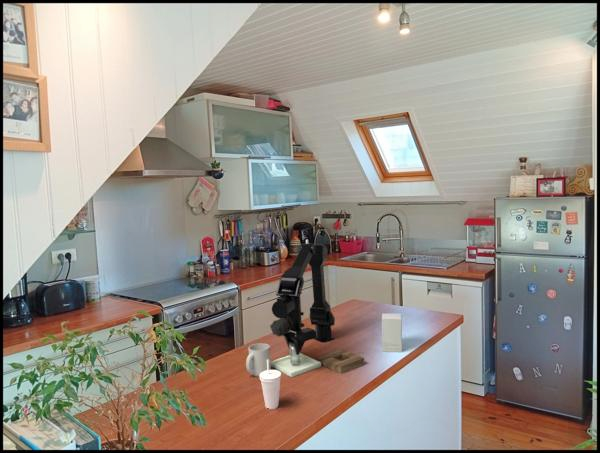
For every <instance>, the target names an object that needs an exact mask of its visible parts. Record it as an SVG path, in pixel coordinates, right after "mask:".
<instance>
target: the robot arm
mask: <svg viewBox="0 0 600 453" xmlns="http://www.w3.org/2000/svg"><path fill="white" fill-rule="evenodd" d="M328 251H329V250H328V247H327V246H326V245H325V244H323V243H305V242H304V243H303V244H301V245H300V249H299V251H298V253H297V255H296V257H295V260H294V261H293V263H292V264H291V266H290V267H289V268H288V269H286V270H284V272H283V273H282V274H281V276H280V278H279V281H278V286H277V290H276V293H275V295H276V301H274V303H273V304H272V307H271V313H272V314H273V315H274V317H276V318H277V319H276V320H273V322H272V323H271V324H270V326H269V327H270V330H271V332H272V334H273V335H274V336H277V337H279V338H280V337H284V339H285V342H286V345H287V347H288V351H290V348H289V341H291V340H294V342H295V350H296V355H299V354H300V353H301V352H302V349H303V347H304V344H305V343H306V342H307V341H310V340H316V341H317V342H320V343H325V342H328V341H331V340H334V339H335V337H334V336H333V335H332V332H333V331H332V326H335V322H336V320H335V315H334V314H333V312H332V309H331V305H330V303H329V302H328V301H327V299H326V285H325V272H324V271H325V270H324V265H325V263H326V261H327V259H328ZM308 265H309V266H310V268H311V270H310V271H311V281H312V283H311V284H312V293H313V297H312V298H313V303H312V305H311V306H310V308H309V319H310V324H311V326H314V327H315V329H313V328H311V327H306V328H304V327H305V323H303V322H302V316H304V314H305V312H304V311H302V306H301V305H302V304H301V303H302V302H301V294H303V292H302V291H303V288H304V285H305V280H304V275H305V274H304V273H305V272H306V269H307V267H308Z"/></svg>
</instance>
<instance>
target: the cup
mask: <svg viewBox="0 0 600 453" xmlns="http://www.w3.org/2000/svg"><path fill="white" fill-rule="evenodd" d="M247 350H248V355H247V357H246V360H245V361H246V362H245V368H246V371H247V372H248V373H249V374H250V375H251V376H255V377H260V376H259V375H260V373H261V372H263V371H266V370H267V359H268V360H269V370H272V367H271V363H270V361H271V347H270V344H267V343H260V342H258V343H253V344H251V345H249V346H248V349H247Z"/></svg>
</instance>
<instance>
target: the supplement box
mask: <svg viewBox="0 0 600 453" xmlns="http://www.w3.org/2000/svg"><path fill="white" fill-rule="evenodd" d="M402 321H403V320H402V314H401V313H381V347H382V348H381V350H382V352H388V353H389V352H390V353H402V352H403V334H402V331H403V328H402V326H403V322H402Z"/></svg>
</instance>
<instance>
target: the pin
mask: <svg viewBox="0 0 600 453" xmlns="http://www.w3.org/2000/svg"><path fill="white" fill-rule="evenodd" d="M289 348H290V350H289V355H290V363H291V364H299V363H300V354H299V355H296V350H295V342H294V340H291V341H289ZM289 348H288V349H289Z"/></svg>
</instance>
